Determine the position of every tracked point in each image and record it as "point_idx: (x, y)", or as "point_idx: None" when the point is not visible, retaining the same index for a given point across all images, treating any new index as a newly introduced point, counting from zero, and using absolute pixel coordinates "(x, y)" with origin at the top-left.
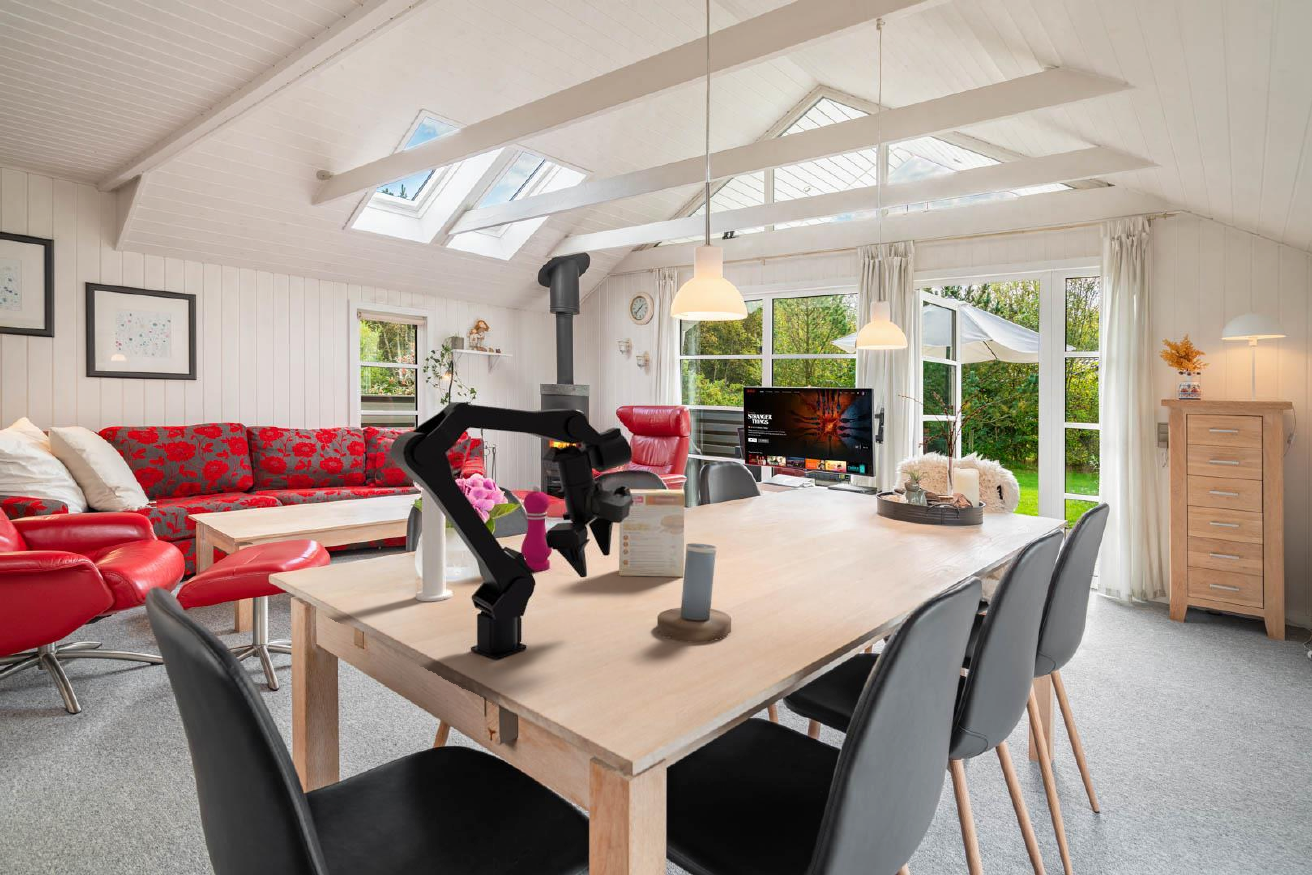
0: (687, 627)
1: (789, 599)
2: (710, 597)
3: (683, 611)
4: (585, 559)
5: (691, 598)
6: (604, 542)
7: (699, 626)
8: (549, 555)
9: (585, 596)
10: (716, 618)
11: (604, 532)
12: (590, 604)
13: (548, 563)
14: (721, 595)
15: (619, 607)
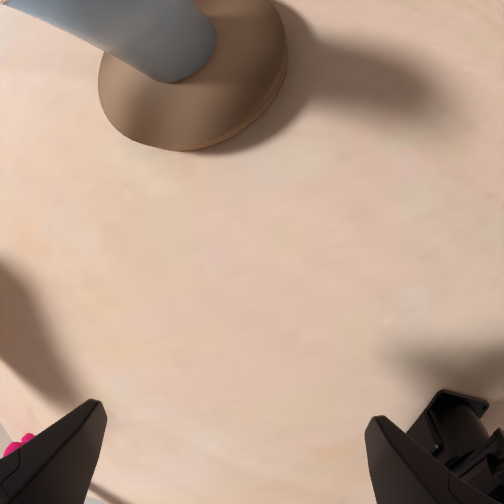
0: (267, 36)
1: (18, 27)
2: None
3: (197, 55)
4: (421, 477)
5: (188, 12)
6: (74, 460)
7: (247, 15)
8: (19, 443)
9: (82, 378)
10: None
11: (43, 499)
12: (114, 362)
13: (27, 438)
14: (3, 124)
15: (102, 296)
